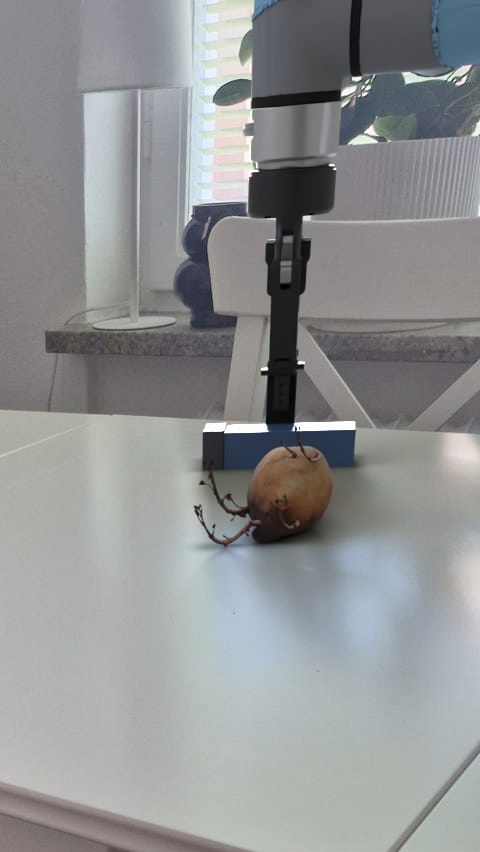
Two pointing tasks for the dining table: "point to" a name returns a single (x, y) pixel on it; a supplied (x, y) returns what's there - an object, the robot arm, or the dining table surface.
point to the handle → (275, 443)
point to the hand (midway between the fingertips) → (279, 444)
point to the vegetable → (280, 494)
